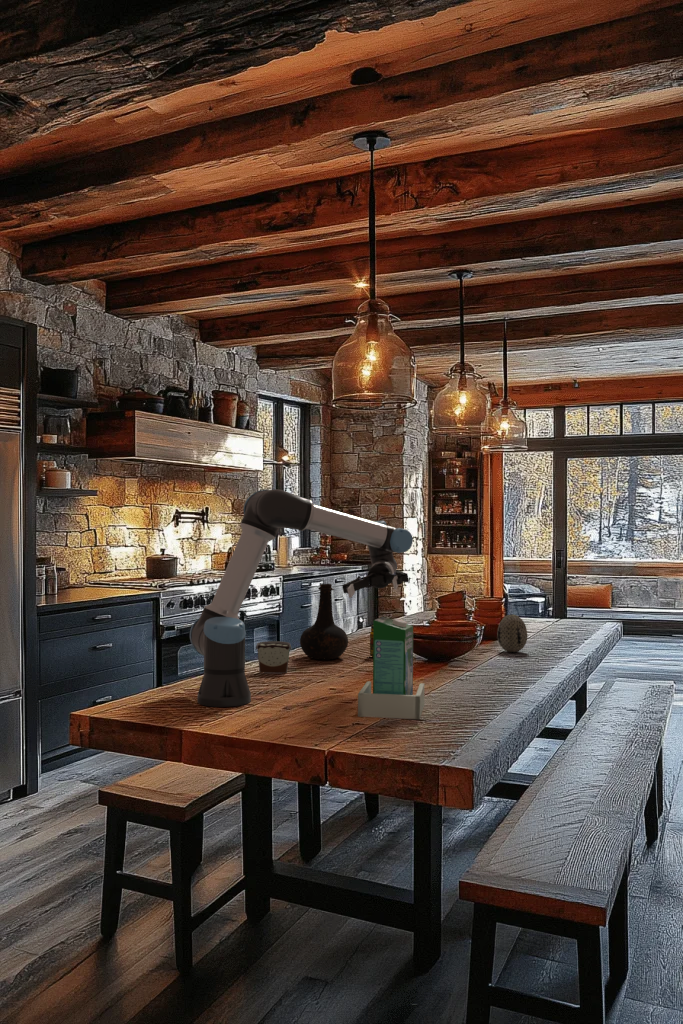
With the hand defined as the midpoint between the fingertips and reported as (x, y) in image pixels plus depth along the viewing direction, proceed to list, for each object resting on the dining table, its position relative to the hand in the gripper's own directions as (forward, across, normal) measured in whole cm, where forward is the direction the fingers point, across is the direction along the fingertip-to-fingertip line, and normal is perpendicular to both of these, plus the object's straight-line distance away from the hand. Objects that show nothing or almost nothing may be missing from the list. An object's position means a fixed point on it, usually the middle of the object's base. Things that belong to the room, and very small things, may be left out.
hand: (371, 589), depth 242 cm
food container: (-31, +45, -28) cm, 61 cm away
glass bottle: (-61, +34, -35) cm, 78 cm away
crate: (+17, -2, -31) cm, 35 cm away
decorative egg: (-89, -34, -52) cm, 109 cm away
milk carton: (+16, -1, -31) cm, 35 cm away
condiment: (-69, +15, -40) cm, 81 cm away
